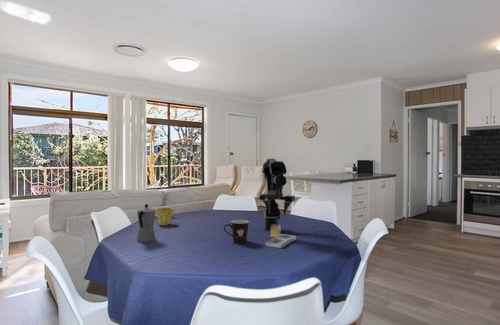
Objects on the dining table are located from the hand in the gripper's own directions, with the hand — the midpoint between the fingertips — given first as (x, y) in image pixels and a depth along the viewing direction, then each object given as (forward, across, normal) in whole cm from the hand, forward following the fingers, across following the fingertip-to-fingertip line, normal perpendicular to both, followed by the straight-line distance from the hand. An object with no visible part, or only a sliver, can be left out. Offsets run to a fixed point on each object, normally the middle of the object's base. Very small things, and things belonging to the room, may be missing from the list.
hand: (276, 213), depth 156 cm
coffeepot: (+12, -54, -41) cm, 68 cm away
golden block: (+12, 0, 0) cm, 12 cm away
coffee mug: (+12, -13, -19) cm, 26 cm away
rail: (+12, +7, -10) cm, 17 cm away
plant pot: (+12, -73, -9) cm, 74 cm away
